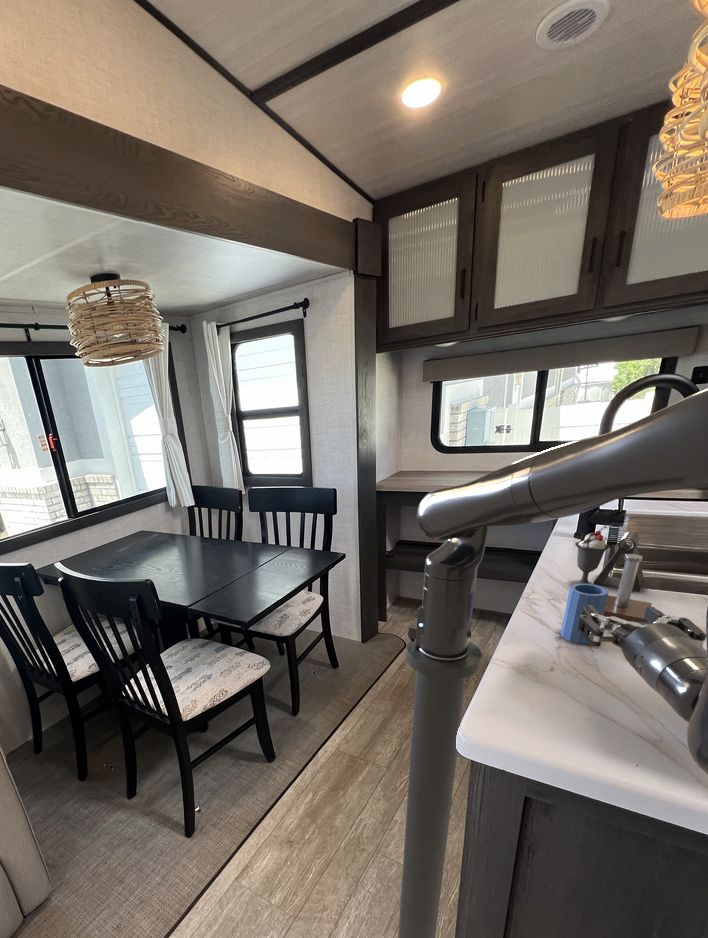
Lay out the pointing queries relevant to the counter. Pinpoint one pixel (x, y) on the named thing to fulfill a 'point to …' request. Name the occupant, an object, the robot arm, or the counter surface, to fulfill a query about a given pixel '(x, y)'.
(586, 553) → the sundae
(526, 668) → the counter surface
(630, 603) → the wooden base post
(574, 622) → the blue sleeve
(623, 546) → the phone stand
